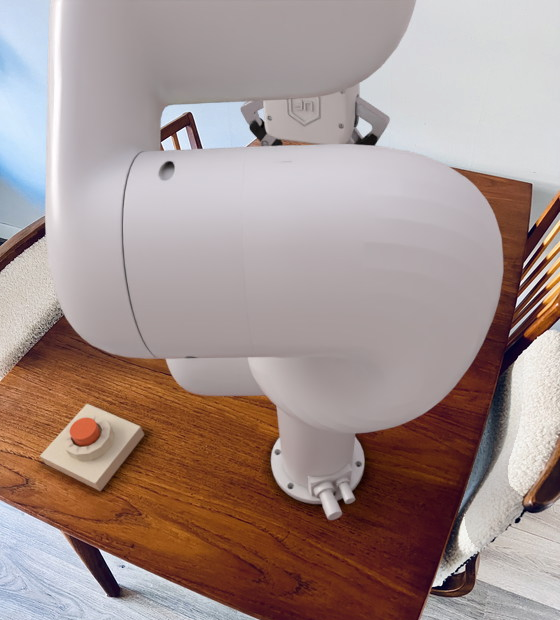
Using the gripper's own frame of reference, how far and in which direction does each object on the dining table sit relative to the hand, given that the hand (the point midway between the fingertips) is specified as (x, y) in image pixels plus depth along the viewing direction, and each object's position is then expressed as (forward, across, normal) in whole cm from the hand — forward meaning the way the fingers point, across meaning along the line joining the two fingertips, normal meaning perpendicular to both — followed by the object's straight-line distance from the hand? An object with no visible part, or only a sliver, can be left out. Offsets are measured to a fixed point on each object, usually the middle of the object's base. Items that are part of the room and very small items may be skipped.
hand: (313, 180), depth 65 cm
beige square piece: (+28, -23, -30) cm, 47 cm away
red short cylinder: (+25, -23, -30) cm, 45 cm away
